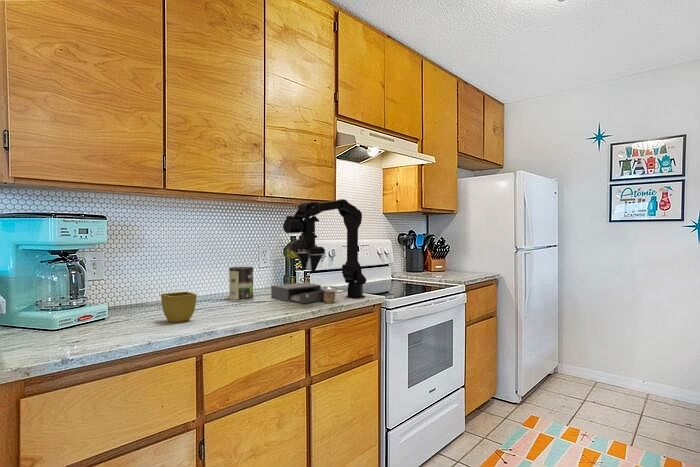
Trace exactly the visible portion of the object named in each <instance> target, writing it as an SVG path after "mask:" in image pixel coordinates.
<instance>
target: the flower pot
mask: <svg viewBox="0 0 700 467" xmlns="http://www.w3.org/2000/svg"><path fill="white" fill-rule="evenodd" d="M197 295H198V294H197V293H194V292H190V291H178V292H167V293H165V292H164V293H160V298H161V300H160V301H161V307H162V312H163V314H164V316H165V318H166V320H167V321H169V322H172V323H174V324H176V323H179V322H180V323H181V322H188V321H190V320H191V319H192V316H193V315H194V312H195V309H196V306H197V297H198V296H197Z"/></svg>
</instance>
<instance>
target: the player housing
mask: <svg viewBox="0 0 700 467" xmlns="http://www.w3.org/2000/svg"><path fill="white" fill-rule="evenodd" d="M321 287H322V285H321V284H317V283H311V282H294V283H285V284H278V285H277V284H275V285H271V286H270V291H271V297H270V298H271V299H274V300H279V301H282V302H283V301H284V302H287V303H292V302H295V301H294V300H289V297H290V295H298V294H304V293H312V292H320V291H321Z"/></svg>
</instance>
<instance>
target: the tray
mask: <svg viewBox="0 0 700 467" xmlns="http://www.w3.org/2000/svg"><path fill="white" fill-rule="evenodd" d="M335 299H336V292H334V300H335ZM289 300H294V301H293V302H299V304H302V305H303V304H308V303H314V302H322V301H323V302H324V292H321V291H320V292H312V293H304V294H298V295H290V297H289Z"/></svg>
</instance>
